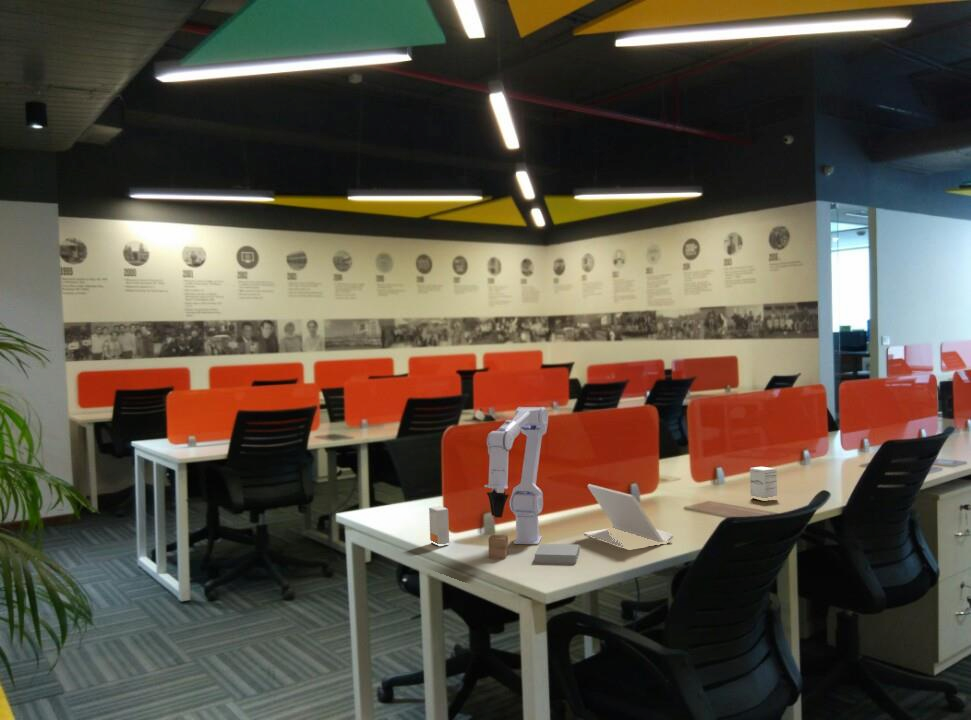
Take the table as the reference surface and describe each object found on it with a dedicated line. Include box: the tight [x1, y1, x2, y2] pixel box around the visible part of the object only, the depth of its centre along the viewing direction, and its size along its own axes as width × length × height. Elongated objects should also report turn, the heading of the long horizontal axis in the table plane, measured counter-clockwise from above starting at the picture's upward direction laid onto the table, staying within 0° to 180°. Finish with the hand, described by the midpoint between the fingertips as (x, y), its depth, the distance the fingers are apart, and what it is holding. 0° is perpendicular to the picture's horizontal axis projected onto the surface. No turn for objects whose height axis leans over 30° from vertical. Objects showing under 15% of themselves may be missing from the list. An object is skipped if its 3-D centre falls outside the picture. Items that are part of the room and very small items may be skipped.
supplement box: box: [749, 466, 778, 498], centre depth 301 cm, size 7×7×13 cm
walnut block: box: [488, 534, 509, 560], centre depth 232 cm, size 5×5×6 cm
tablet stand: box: [583, 483, 674, 547], centre depth 249 cm, size 18×25×17 cm
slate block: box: [534, 543, 581, 565], centre depth 229 cm, size 12×12×3 cm
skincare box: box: [428, 505, 450, 544], centre depth 249 cm, size 6×4×12 cm
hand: (496, 516), depth 229 cm, fingers open, 7 cm apart
